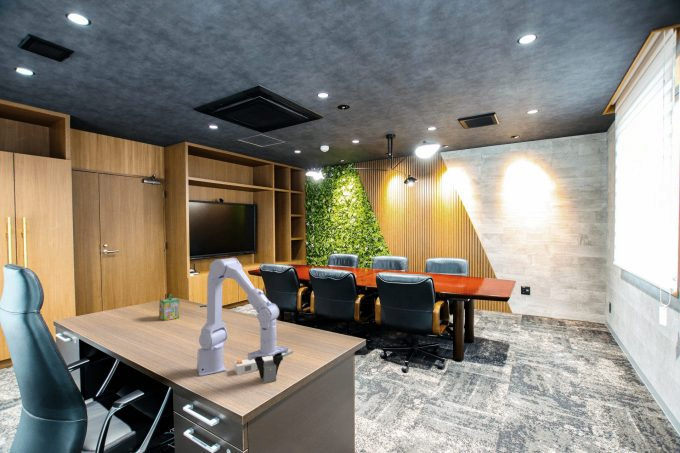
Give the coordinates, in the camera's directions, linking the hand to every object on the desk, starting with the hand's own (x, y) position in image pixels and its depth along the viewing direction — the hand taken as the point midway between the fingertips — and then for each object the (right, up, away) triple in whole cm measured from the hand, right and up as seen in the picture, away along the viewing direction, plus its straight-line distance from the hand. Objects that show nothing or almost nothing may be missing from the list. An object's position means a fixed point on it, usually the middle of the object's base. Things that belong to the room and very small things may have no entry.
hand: (268, 375), depth 120 cm
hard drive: (-2, -2, +26) cm, 26 cm away
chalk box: (-79, -2, +82) cm, 114 cm away
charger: (0, -1, 0) cm, 1 cm away
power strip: (-5, -2, +11) cm, 12 cm away
